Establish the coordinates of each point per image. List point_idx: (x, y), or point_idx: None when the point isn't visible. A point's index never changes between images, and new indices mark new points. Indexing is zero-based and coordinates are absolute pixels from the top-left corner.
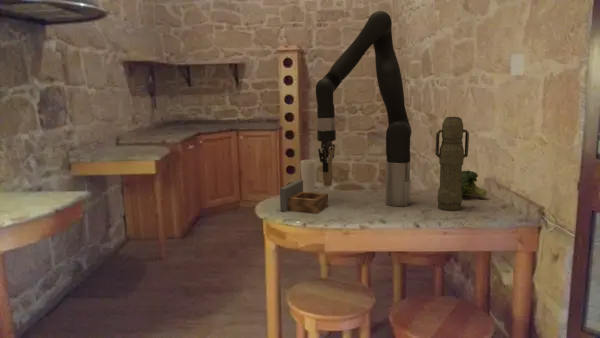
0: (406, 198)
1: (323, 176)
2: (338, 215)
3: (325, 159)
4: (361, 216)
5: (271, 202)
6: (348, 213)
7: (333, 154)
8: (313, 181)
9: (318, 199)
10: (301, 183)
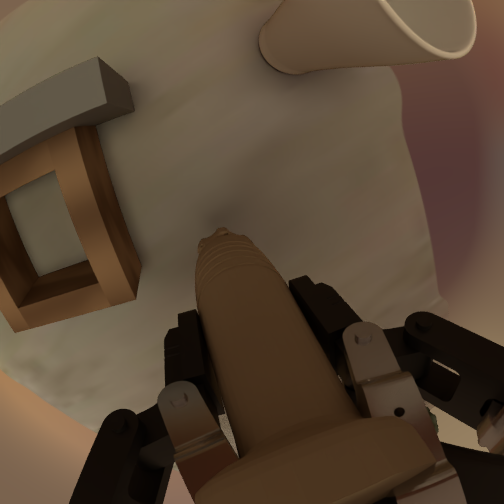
0: None
1: (197, 273)
2: (76, 362)
3: (138, 477)
4: (123, 405)
5: (45, 11)
6: (117, 372)
7: (429, 395)
8: (321, 66)
9: (28, 327)
10: (81, 116)
